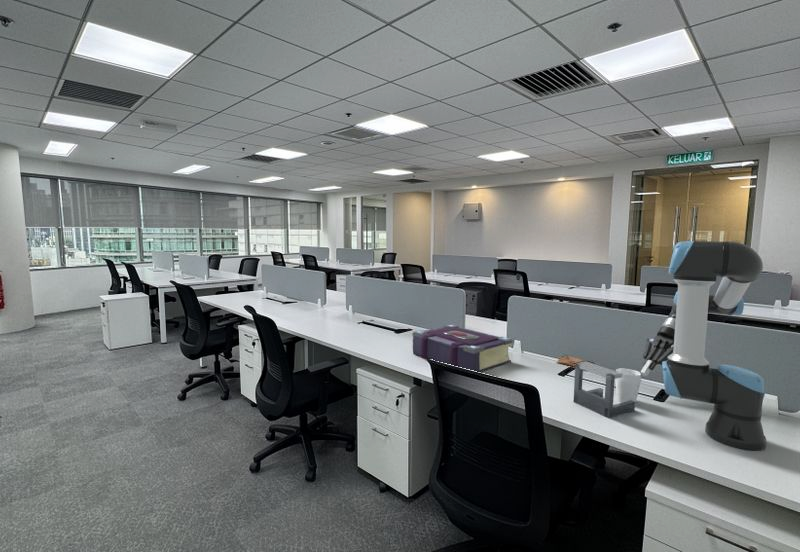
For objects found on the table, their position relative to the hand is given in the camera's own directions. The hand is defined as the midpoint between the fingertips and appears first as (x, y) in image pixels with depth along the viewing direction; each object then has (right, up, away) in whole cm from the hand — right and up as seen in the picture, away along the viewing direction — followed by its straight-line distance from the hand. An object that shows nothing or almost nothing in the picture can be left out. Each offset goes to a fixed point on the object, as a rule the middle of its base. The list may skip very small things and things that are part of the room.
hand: (643, 374), depth 160 cm
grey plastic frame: (-22, -10, -10) cm, 26 cm away
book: (-69, -4, +51) cm, 86 cm away
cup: (-10, -10, -4) cm, 14 cm away
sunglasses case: (-11, -6, +39) cm, 41 cm away
